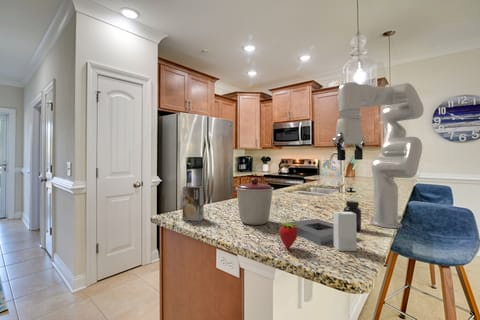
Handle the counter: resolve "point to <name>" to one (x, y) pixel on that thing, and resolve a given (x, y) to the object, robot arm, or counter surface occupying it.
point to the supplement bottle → (353, 207)
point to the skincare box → (345, 231)
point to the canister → (254, 202)
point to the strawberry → (288, 234)
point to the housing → (315, 231)
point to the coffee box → (193, 203)
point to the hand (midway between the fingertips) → (350, 159)
